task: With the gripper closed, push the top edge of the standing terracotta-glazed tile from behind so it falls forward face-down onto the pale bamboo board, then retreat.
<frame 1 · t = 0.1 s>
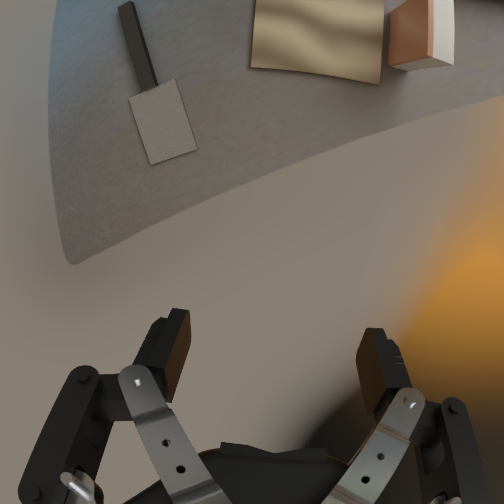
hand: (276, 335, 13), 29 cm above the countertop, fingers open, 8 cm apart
turner: (148, 75, 34), on the countertop
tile: (399, 41, 29), on the countertop
board: (320, 23, 29), on the countertop
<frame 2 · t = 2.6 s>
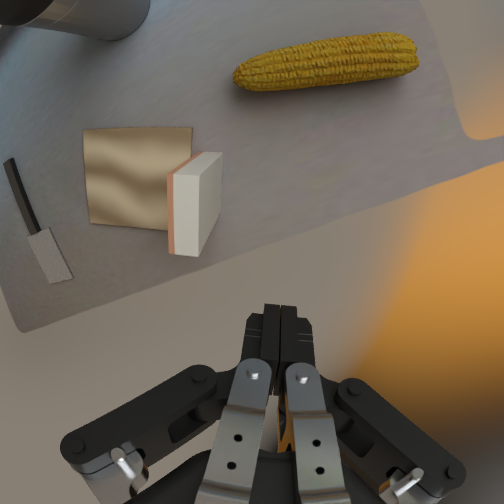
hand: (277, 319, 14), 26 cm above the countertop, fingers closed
food: (326, 65, 31), on the countertop
turner: (33, 221, 44), on the countertop
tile: (210, 182, 39), on the countertop
board: (134, 178, 39), on the countertop
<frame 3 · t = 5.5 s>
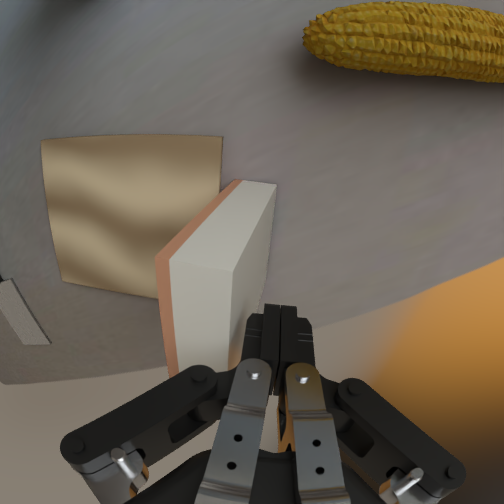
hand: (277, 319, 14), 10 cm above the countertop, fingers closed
food: (441, 47, 16), on the countertop
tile: (251, 233, 23), on the countertop, tilted 7°
board: (123, 220, 24), on the countertop
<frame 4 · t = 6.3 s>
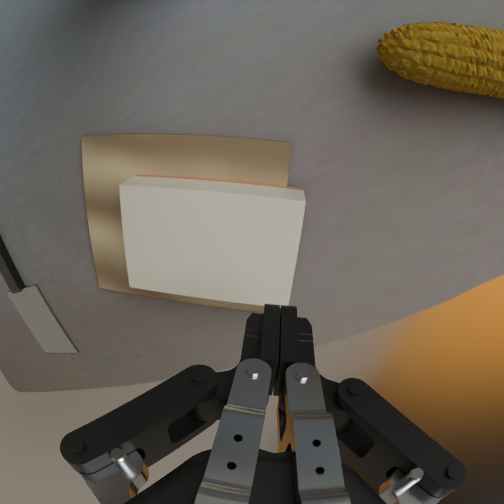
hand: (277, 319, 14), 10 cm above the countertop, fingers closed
food: (486, 66, 15), on the countertop
turner: (14, 273, 28), on the countertop
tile: (295, 249, 22), point 2 cm above the countertop, tilted 90°, touching board
board: (176, 224, 24), on the countertop
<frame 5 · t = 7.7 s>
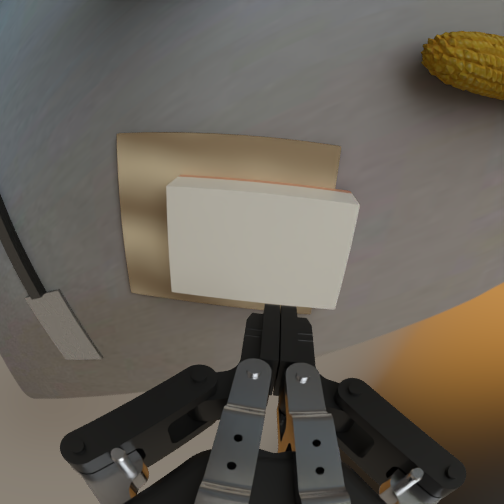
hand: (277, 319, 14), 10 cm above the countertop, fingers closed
turner: (33, 277, 28), on the countertop
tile: (343, 251, 21), point 2 cm above the countertop, tilted 90°, touching board
board: (219, 226, 23), on the countertop
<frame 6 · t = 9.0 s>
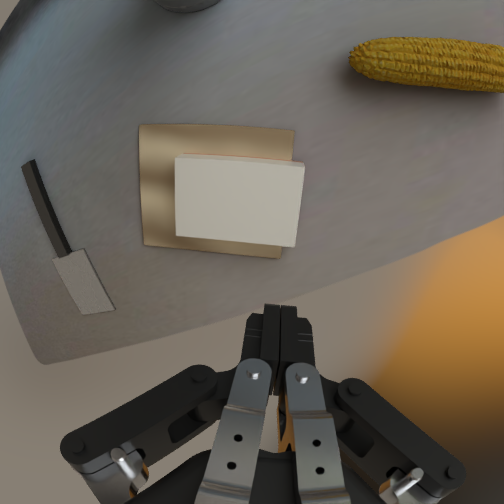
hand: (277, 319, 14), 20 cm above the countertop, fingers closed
food: (437, 66, 24), on the countertop
turner: (62, 240, 37), on the countertop
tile: (298, 204, 30), point 2 cm above the countertop, tilted 90°, touching board
board: (211, 190, 32), on the countertop
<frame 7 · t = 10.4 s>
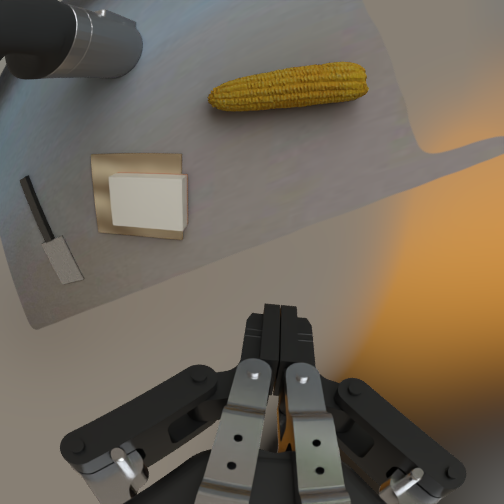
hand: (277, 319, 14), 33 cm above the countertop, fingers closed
food: (289, 89, 39), on the countertop
turner: (48, 230, 52), on the countertop
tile: (185, 202, 45), point 2 cm above the countertop, tilted 90°, touching board
board: (135, 195, 47), on the countertop
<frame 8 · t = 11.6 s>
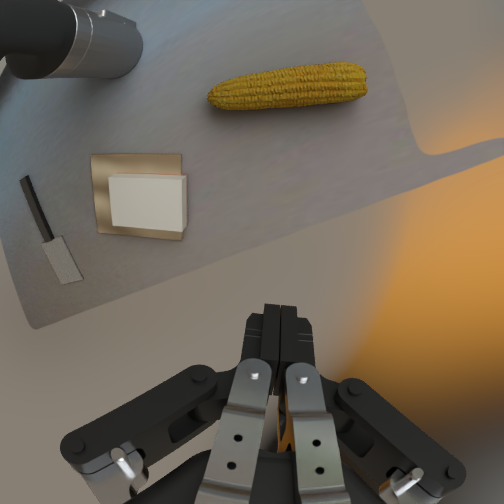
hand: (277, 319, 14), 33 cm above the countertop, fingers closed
food: (288, 88, 39), on the countertop
turner: (47, 230, 52), on the countertop
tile: (184, 203, 45), point 2 cm above the countertop, tilted 90°, touching board
board: (135, 195, 47), on the countertop
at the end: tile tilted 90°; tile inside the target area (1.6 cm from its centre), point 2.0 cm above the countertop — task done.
